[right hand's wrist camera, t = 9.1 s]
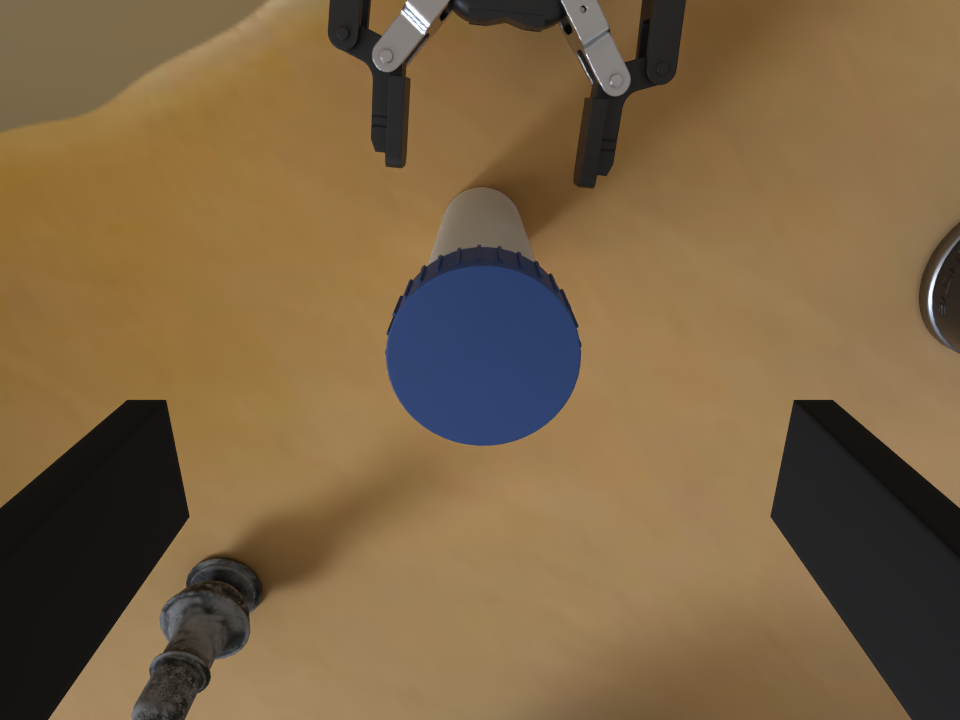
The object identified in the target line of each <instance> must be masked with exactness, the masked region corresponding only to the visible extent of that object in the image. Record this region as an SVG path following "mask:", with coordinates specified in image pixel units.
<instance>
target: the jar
mask: <svg viewBox="0 0 960 720" xmlns="http://www.w3.org/2000/svg"><path fill="white" fill-rule="evenodd" d="M477 245H481V247H493V248H498V246H501V247H502V249H505V250H509V251H512V252H515V253H517V252H518V251H519V252H521V255H522V256H524V257H526V258H528V259H530V260H531V261H533V262H535V258H534V255H533V252H532V249H531V246H530V244H529V241H528V238H527V235H526V232H525V229H524V226H523V223H522V220H521V218H520V215H519V212H518V210H517V208H516V206H515V204H514V203H513V202H512V201H511V200H510V199H509V198H508V197H507V196H506V195H505V194H503V193H502V192H500V191H498V190H495V189H492V188H487V187H476V188H471V189H468V190H466V191H463V192H462V193H460V194H459V195H457V196H456V197H455V198H454V199H453V200H452V201H451V202H450V204H449V205H448V207H447V208H446V210H445V213H444V216H443V219H442V222H441V225H440V228H439V232H438V235H437V238H436V241H435V244H434V247H433V251H432V254H431V257H430V260H429V263H428V265H429V264H431V263H432V262H434V261H435V260H437V259H438V256H439V255H441V254H442V256H444V255H447V254H449V253H451V252H454V251H457V248H460V247H461V250H462V249H466V248H473V247H477Z"/></svg>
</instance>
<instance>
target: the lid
mask: <svg viewBox="0 0 960 720" xmlns="http://www.w3.org/2000/svg"><path fill="white" fill-rule="evenodd" d="M392 316H393V318H392V321H391V323H390V326H389V328H388V331H387V335H389V336H388V340H387V349H386V351H385V353H386V362H387V370H388V375H389V379H390V382H391V385H392V387H393V390H394V392H395V394H396V396H397V398H398V399H399V401H400V402H401V404H402V405H403V407H404V408H405V409H406V411H407V412H408V413H409V414H410V415H411V416H412V417H413V418H414V419H415V420H416V421H417V422H419V423H420V424H421V425H422V426H423V427H425V428H427V429H428V430H430V431H431V432H433V433H435V434H437V435H439V436H441V437H443V438H446V439H448V440H451V441H454V442H458V443H463V444H468V445H478V446H485V445H498V444H504V443H508V442H512V441H515V440H518V439H521V438H523V437H526V436H528V435H530V434H532V433H534V432H536V431H537V430H539V429H540V428H541V427H543V426H544V425H546V424H547V423H548V422H549V421H550V420H552V419H553V418H554V417H555V416H556V415H557V413H558V412H559V411H560V410H561V409H562V408H563V406H564V405H565V403H566V402H567V400H568V399H569V397H570V395H571V393H572V391H573V389H574V387H575V384H576V381H577V378H578V374H579V369H580V361H581V349H580V347H581V342H580V340H579V336H578V332H577V328H578V324H577V321H576V319H575V317H574V314H573V312H572V310H571V307H570V304H569V302H568V300H567V298H566V295H565V293H564V291H563V289H561V290H560V289H559V288H558V286H557V284H556V282H555V280H554V277H553V275H552V274H551V273H550V274H549V275H548V274H547V273H546V272H545V271H544V270H543V269H542V268H541V267H540V266H539V263H538V262H537V261H535V262H533V261H531V260H530V259H528V258H526V257H524V256H522V255H521V252H519V251H518V252H517V253H515V252H512V251H509V250H505V249H502V247H501V246H498V248H493V247H481V245H477V247H473V248H466V249H462V250H461V247H460V248H457V251H454V252H451V253H449V254H447V255H444V256H442V254H441V255H439V256H438V259H437V260H435V261H434V262H432V263H431V264H429V265H428V266H427V267H426V266H425V265H424V266H423V267H422V269H421V272H420V273H419V274H418V275H417V276H416V277H415V278H414V280H411V279H410V281H409V282H408V285H407V287H406V290H405V293H404V295H403V296H400V298H399V300H398V303H397V305H396V308H395V310H394V312H393V315H392Z"/></svg>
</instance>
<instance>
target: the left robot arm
mask: <svg viewBox="0 0 960 720" xmlns="http://www.w3.org/2000/svg"><path fill="white" fill-rule="evenodd" d="M685 3H686V0H642V8H641V16H640V25H639V34H638V42H637V51H636V59H635V60H632V61H628V62H624V61H623V59H622V57H621V55H620V53H619V51H618V48H617V46H616V44H615V42H614V40H613V38H612V36H611V33H610V28H609V24H608V22H607V20H606V18H605V16H604V13H603V11H602V9H601V7H600V5H599V3H598V1H597V0H407V2H406V3H405V5H404V7H403V9H402V11H401V13H400V14H399V15H398V16H397V18H396V19H395V20H394V22H393V23H392V24H391V25H390V27H389V28H388V29H387V31H386V32H385V33H384V34H383V36H381V35H379V34H377V33H375V32H373V31H371V30H369V17H370V6H371V0H330V8H329V23H328V36H329V39H330V41H331V43H332V44H333V45H334V46H335V47H336V48H338V49H340V50H342V51H344V52H346V53H348V54H350V55H352V56H354V57H356V58H358V59H360V60H362V61H364V62H365V63H366V64H367V65H368V66H369V68H370V70H371V72H372V76H373V96H372V126H371V140H372V143H373V146H374V149H375V151H376V152H385V164H386V167H395V168H403V167H404V166H405V163H406V154H407V135H408V117H409V98H410V78H407V77H406V67H407V66H408V65H409V63H410V62H411V61H412V60H413V58H414V57H415V56H416V55H417V53H418V52H419V51H420V50H421V48H422V47H423V46H424V45H425V43H426V42H427V41H428V40H429V39H430V38H431V37H432V36H433V35H434V34H435V33H436V32H437V31H438V29H439V28H440V27H441V26H442V24H443V23H444V22H445V21H446V19H447V18H448V17H449V16H450V14H451V13H452V12H453V11H454V12H455V13H456V14H457V15H458V16H459V17H461V18H462V19H464V20H466V21H468V22H469V24H472V25H481V26H490V25H495V24H501V23H507V24H510V25H512V26H515V27H517V28H519V29H522V30H527V31H536V32H541V31H542V30H543V29H547V28H550V27H552V26H554V25H556V24H557V23H558V25H559V27H560V29H561V30H562V32H563V34H564V36H565V38H566V40H567V42H568V44H569V46H570V48H571V49H572V51H573V52H574V53H575V55H576V56H577V58H578V60H579V62H580V64H581V66H582V68H583V70H584V72H585V74H586V76H587V78H588V80H589V82H590V84H591V86H592V90H591V97H590V98H585V101H584V108H583V115H582V121H581V128H580V135H579V142H578V149H577V155H576V162H575V169H574V178H573V182H574V184H575V185H576V186H577V187H584V188H594V186H595V183H596V177H597V175H603V176H607V174H608V172H609V171H610V169H611V167H612V165H613V161H614V155H615V149H616V143H617V137H618V131H619V125H620V119H621V113H622V107H623V104H624V102H625V100H626V98H627V97H628V96H629V95H630V94H632V93H633V92H635V91H638V90H641V89H645V88H649V87H652V86H656V85H663V84H666V83H668V82H669V81H671V80H672V78H673V77H674V75H675V73H676V68H677V61H678V54H679V47H680V39H681V32H682V25H683V17H684V10H685ZM919 304H920V311H921V315H922V318H923V321H924V323H925V325H926V327H927V329H928V330H929V332H930V333H931V334H932V335H933V337H934V338H935V339H937V340H938V341H939V342H940V343H942V344H943V345H945V346H946V347H948V348H950V349H952V350H954V351H956V352H958V353H960V223H959V224H958V225H957V226H955V227H954V228H953V229H952V230H951V231H950V232H949V233H948V234H947V235H946V236H945V238H944V239H943V240H942V241H941V242H940V244H939V245H938V246H937V248H936V249H935V251H934V252H933V254H932V256H931V258H930V259H929V261H928V263H927V266H926V268H925V271H924V273H923V277H922V280H921V285H920V292H919Z"/></svg>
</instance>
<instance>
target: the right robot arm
mask: <svg viewBox="0 0 960 720" xmlns="http://www.w3.org/2000/svg"><path fill="white" fill-rule="evenodd" d="M188 518H189V512H188V507H187V502H186V497H185V492H184V487H183V482H182V477H181V472H180V467H179V462H178V457H177V452H176V447H175V442H174V437H173V432H172V427H171V422H170V417H169V412H168V407H167V402H166V400H127V401H126V402H124V403H123V404H122V405H121V406H120V407H119V408H117V409H116V410H115V411H114V412H113V413H112V414H110V415H109V416H108V417H107V418H106V419H104V420H103V421H102V422H101V423H100V424H99V425H97V426H96V427H95V428H94V429H93V430H92V431H90V432H89V433H88V434H87V435H86V436H85V437H83V438H82V439H81V440H80V441H79V442H77V443H76V444H75V445H74V446H73V447H72V448H70V449H69V450H68V451H67V452H66V453H65V454H63V455H62V456H61V457H60V458H59V459H58V460H56V461H55V462H54V463H53V464H52V465H50V466H49V467H48V468H47V469H46V470H45V471H43V472H42V473H41V474H40V475H39V476H38V477H36V478H35V479H34V480H33V481H32V482H31V483H29V484H28V485H27V486H26V487H25V488H23V489H22V490H21V491H20V492H19V493H18V494H16V495H15V496H14V497H13V498H12V499H11V500H9V501H8V502H7V503H6V504H5V505H4V506H2V507H1V508H0V720H48V719H49V718H50V716H51V715H52V713H53V712H54V710H55V709H56V708H57V706H58V705H59V703H60V702H61V700H62V699H63V698H64V696H65V695H66V693H67V692H68V690H69V689H70V687H71V686H72V685H73V683H74V682H75V680H76V679H77V677H78V676H79V675H80V673H81V672H82V670H83V669H84V667H85V666H86V665H87V663H88V662H89V660H90V659H91V657H92V656H93V654H94V653H95V652H96V650H97V649H98V647H99V646H100V644H101V643H102V642H103V640H104V639H105V637H106V636H107V634H108V633H109V631H110V630H111V629H112V627H113V626H114V624H115V623H116V621H117V620H118V619H119V617H120V616H121V614H122V613H123V611H124V610H125V609H126V607H127V606H128V604H129V603H130V601H131V600H132V598H133V597H134V596H135V594H136V593H137V591H138V590H139V588H140V587H141V586H142V584H143V583H144V581H145V580H146V578H147V577H148V575H149V574H150V573H151V571H152V570H153V568H154V567H155V565H156V564H157V563H158V561H159V560H160V558H161V557H162V555H163V554H164V553H165V551H166V550H167V548H168V547H169V545H170V544H171V542H172V541H173V540H174V538H175V537H176V535H177V534H178V532H179V531H180V530H181V528H182V527H183V525H184V524H185V522H186V521H187V519H188ZM771 518H772V519H773V521H774V522H775V524H776V525H777V527H778V528H779V530H780V531H781V532H782V534H783V535H784V537H785V538H786V540H787V541H788V542H789V544H790V545H791V547H792V548H793V550H794V551H795V552H796V554H797V555H798V557H799V558H800V560H801V561H802V563H803V564H804V565H805V567H806V568H807V570H808V571H809V573H810V574H811V575H812V577H813V578H814V580H815V581H816V583H817V584H818V586H819V587H820V588H821V590H822V591H823V593H824V594H825V596H826V597H827V598H828V600H829V601H830V603H831V604H832V606H833V607H834V608H835V610H836V611H837V613H838V614H839V616H840V617H841V619H842V620H843V621H844V623H845V624H846V626H847V627H848V629H849V630H850V631H851V633H852V634H853V636H854V637H855V639H856V640H857V642H858V643H859V644H860V646H861V647H862V649H863V650H864V652H865V653H866V654H867V656H868V657H869V659H870V660H871V662H872V663H873V664H874V666H875V667H876V669H877V670H878V672H879V673H880V675H881V676H882V677H883V679H884V680H885V682H886V683H887V685H888V686H889V687H890V689H891V690H892V692H893V693H894V695H895V696H896V698H897V699H898V700H899V702H900V703H901V705H902V706H903V708H904V709H905V710H906V712H907V713H908V715H909V716H910V718H911V719H912V720H960V508H959V507H958V506H956V505H955V504H954V503H953V502H952V501H951V500H949V499H948V498H947V497H946V496H945V495H944V494H942V493H941V492H940V491H939V490H938V489H937V488H935V487H934V486H933V485H932V484H931V483H929V482H928V481H927V480H926V479H925V478H924V477H922V476H921V475H920V474H919V473H918V472H917V471H915V470H914V469H913V468H912V467H911V466H910V465H908V464H907V463H906V462H905V461H904V460H902V459H901V458H900V457H899V456H898V455H897V454H895V453H894V452H893V451H892V450H891V449H890V448H888V447H887V446H886V445H885V444H884V443H883V442H881V441H880V440H879V439H878V438H877V437H875V436H874V435H873V434H872V433H871V432H870V431H868V430H867V429H866V428H865V427H864V426H863V425H861V424H860V423H859V422H858V421H857V420H856V419H854V418H853V417H852V416H851V415H850V414H849V413H847V412H846V411H845V410H844V409H843V408H841V407H840V406H839V405H838V404H837V403H836V402H834V401H833V400H794V402H793V407H792V412H791V417H790V422H789V427H788V432H787V437H786V442H785V447H784V452H783V457H782V462H781V467H780V472H779V477H778V482H777V487H776V492H775V497H774V502H773V507H772V512H771Z"/></svg>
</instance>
